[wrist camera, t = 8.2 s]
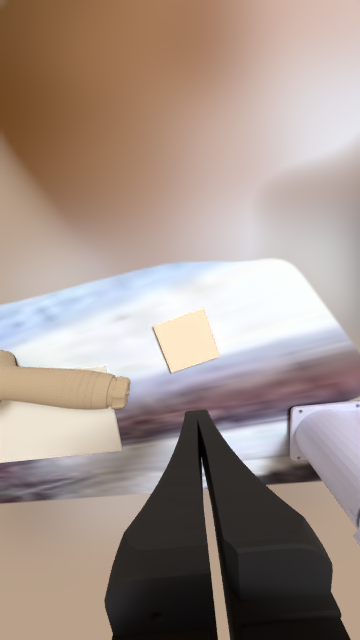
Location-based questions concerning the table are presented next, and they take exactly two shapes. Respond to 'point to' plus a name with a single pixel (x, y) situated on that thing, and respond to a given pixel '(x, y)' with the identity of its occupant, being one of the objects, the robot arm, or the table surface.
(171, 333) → the beige tile
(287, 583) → the robot arm
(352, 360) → the table surface
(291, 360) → the table surface
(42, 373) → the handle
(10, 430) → the felt mat
